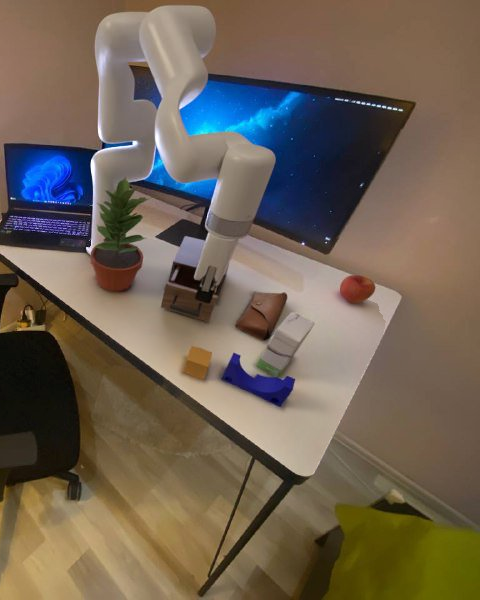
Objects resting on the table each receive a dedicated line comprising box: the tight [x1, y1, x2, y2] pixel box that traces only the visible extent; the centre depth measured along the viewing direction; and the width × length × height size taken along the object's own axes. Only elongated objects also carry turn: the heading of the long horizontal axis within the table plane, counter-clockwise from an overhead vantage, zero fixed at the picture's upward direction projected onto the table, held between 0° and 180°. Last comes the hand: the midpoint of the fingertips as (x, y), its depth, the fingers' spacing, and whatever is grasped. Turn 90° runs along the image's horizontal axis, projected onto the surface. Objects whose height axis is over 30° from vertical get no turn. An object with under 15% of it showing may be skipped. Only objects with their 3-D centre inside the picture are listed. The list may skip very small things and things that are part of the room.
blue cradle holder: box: [221, 352, 296, 408], centre depth 72 cm, size 12×4×6 cm, turn 56°
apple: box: [339, 274, 376, 304], centre depth 93 cm, size 7×7×8 cm
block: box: [182, 345, 213, 381], centre depth 76 cm, size 4×4×4 cm
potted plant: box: [90, 176, 151, 292], centre depth 91 cm, size 15×15×30 cm
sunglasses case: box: [234, 291, 288, 342], centre depth 89 cm, size 18×7×7 cm
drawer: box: [160, 265, 219, 323], centre depth 89 cm, size 18×12×8 cm
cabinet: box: [167, 235, 230, 303], centre depth 98 cm, size 15×14×10 cm
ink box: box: [256, 311, 316, 378], centre depth 75 cm, size 9×5×12 cm, turn 134°
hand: (203, 299), depth 73 cm, fingers closed
